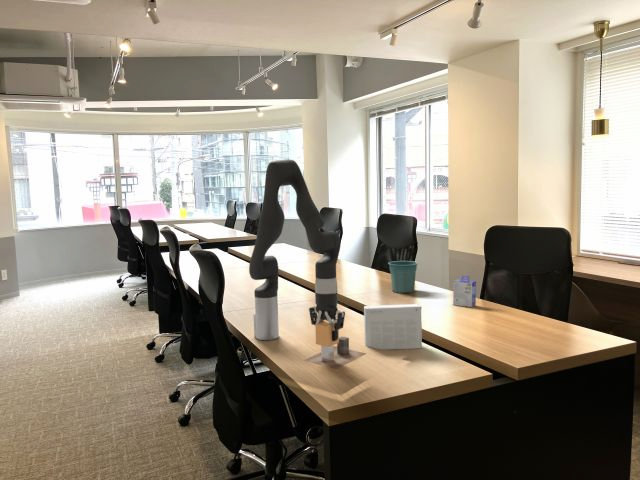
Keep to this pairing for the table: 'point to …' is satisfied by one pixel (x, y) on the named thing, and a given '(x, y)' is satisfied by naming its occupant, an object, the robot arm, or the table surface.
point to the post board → (338, 355)
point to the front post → (327, 353)
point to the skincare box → (393, 326)
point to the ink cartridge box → (464, 292)
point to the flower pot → (403, 276)
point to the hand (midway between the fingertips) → (327, 338)
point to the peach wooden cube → (325, 334)
